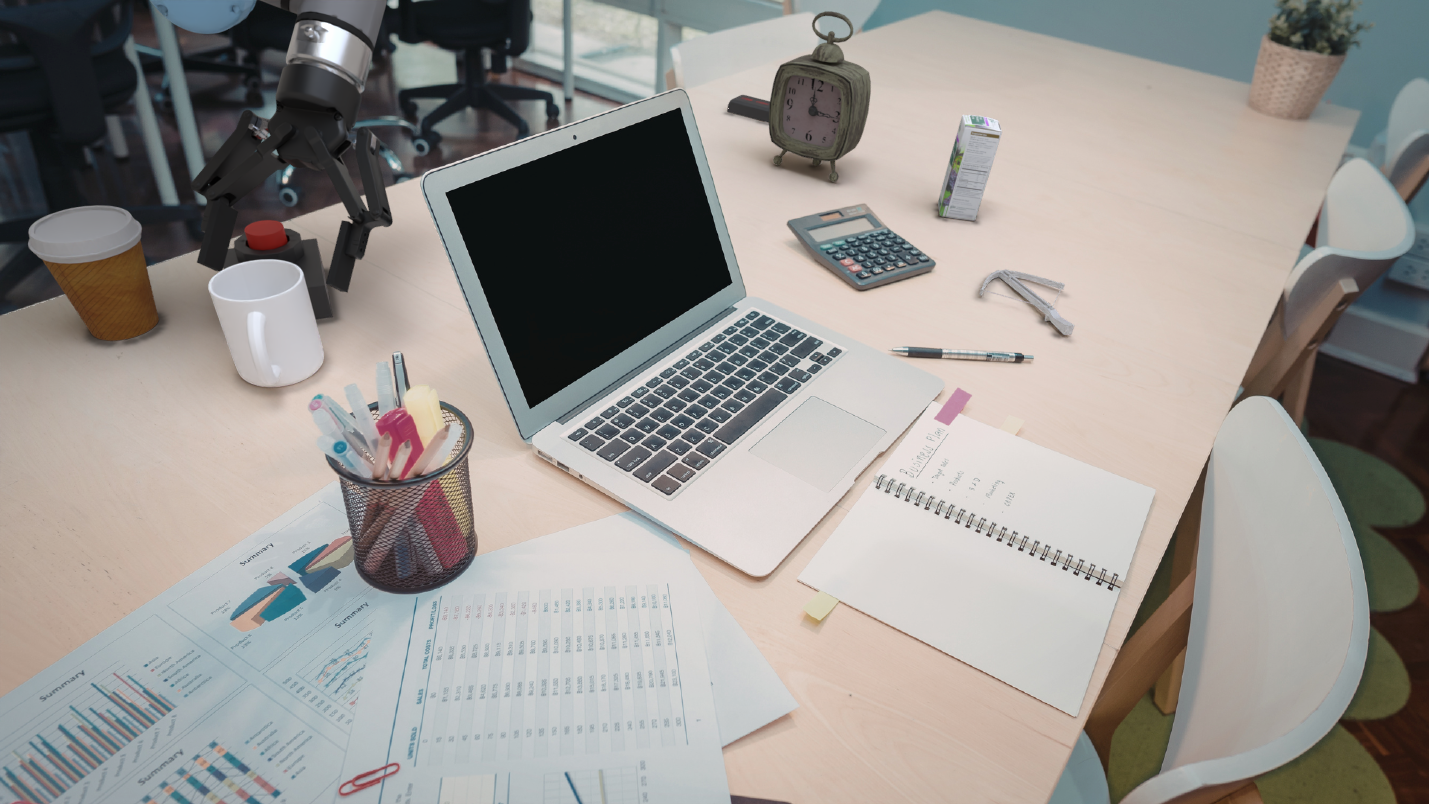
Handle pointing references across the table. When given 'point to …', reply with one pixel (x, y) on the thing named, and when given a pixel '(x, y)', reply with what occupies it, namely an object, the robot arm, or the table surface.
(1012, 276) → the crossbow
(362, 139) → the robot arm
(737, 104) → the usb drive
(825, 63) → the tabletop clock
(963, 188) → the syrup box
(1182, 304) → the table surface
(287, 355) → the mug
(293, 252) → the red mushroom button box
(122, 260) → the disposable coffee cup
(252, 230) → the button
